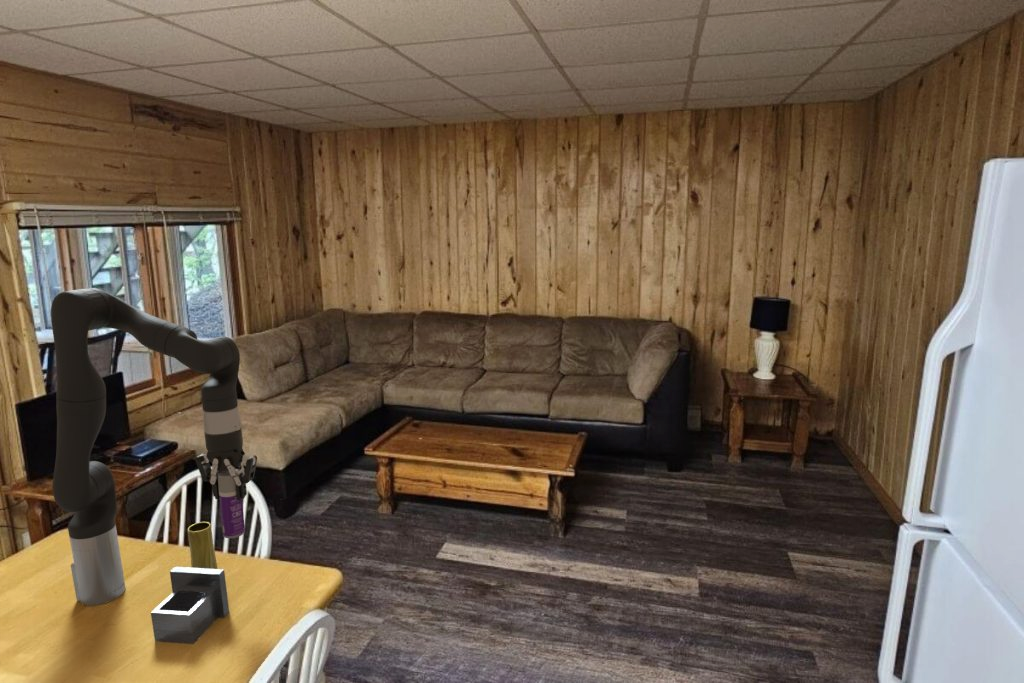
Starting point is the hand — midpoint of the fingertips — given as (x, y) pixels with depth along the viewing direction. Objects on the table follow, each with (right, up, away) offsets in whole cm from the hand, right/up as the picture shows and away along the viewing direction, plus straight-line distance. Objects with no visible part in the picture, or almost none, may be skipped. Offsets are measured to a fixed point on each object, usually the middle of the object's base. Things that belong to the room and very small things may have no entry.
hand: (230, 498), depth 140 cm
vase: (-14, -25, +16) cm, 33 cm away
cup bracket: (-8, -28, -2) cm, 29 cm away
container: (0, -9, +2) cm, 9 cm away
